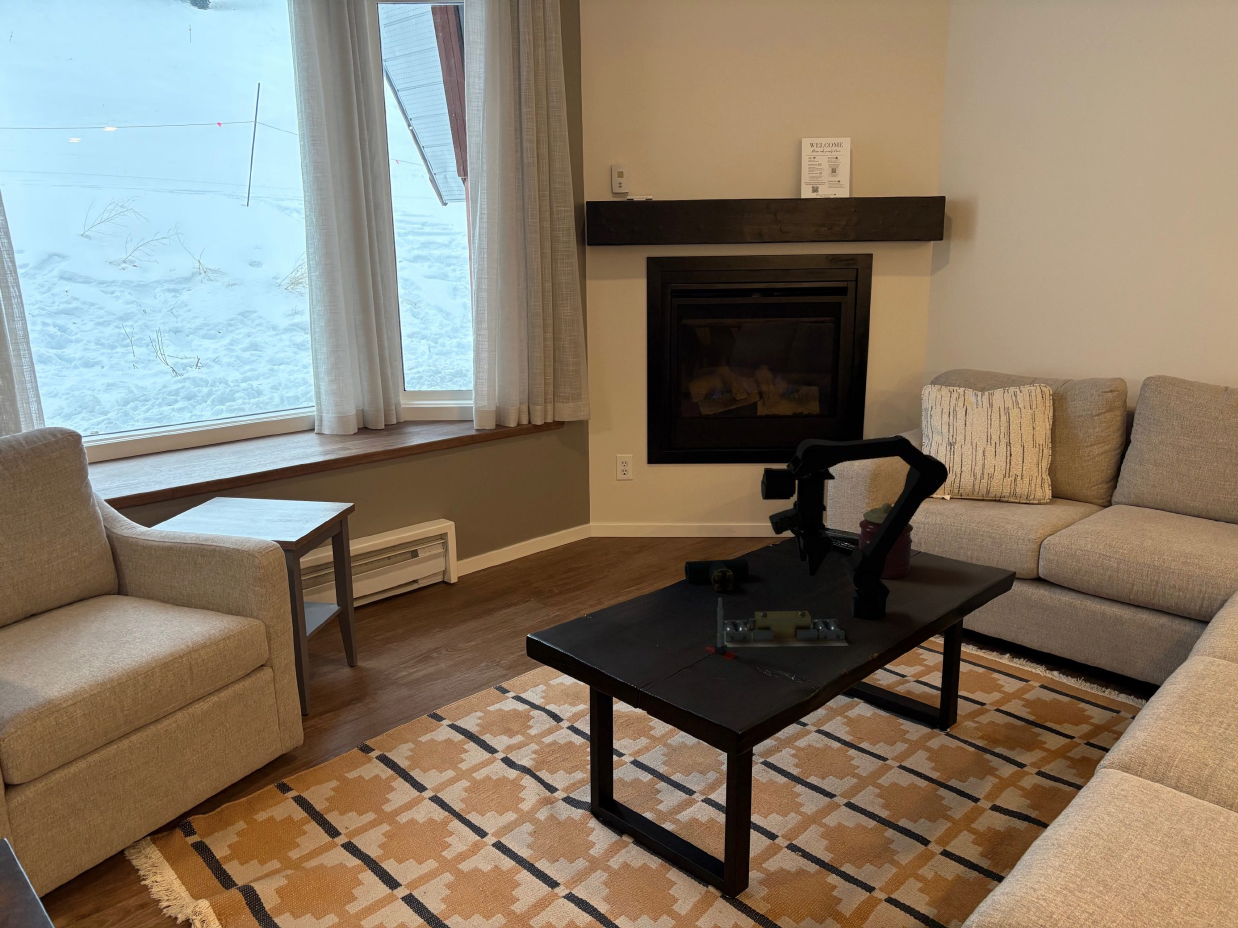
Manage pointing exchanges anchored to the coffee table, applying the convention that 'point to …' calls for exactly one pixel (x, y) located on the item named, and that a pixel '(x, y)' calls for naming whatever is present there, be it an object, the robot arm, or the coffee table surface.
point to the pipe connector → (717, 572)
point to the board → (783, 642)
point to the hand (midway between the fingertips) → (807, 568)
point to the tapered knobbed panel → (783, 622)
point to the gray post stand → (721, 635)
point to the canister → (900, 552)
